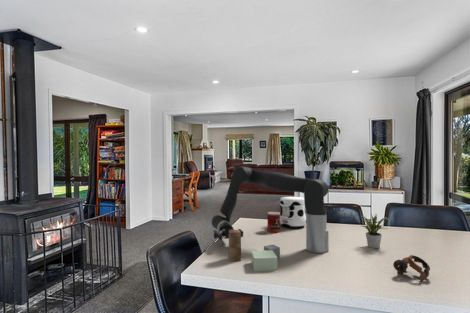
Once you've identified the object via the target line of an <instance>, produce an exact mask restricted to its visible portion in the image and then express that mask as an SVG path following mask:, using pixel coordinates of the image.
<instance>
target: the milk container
mask: <svg viewBox="0 0 470 313" xmlns="http://www.w3.org/2000/svg"><path fill="white" fill-rule="evenodd" d="M279 207H280V208H279V210H280V212H279V213H280V226H282V227H286V228H290V229H291V228H294V229H295V228H303V227H304V226H306V208H305V204H304V197H300V196H283V197H280V204H279Z"/></svg>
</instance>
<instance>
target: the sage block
mask: <svg viewBox="0 0 470 313" xmlns="http://www.w3.org/2000/svg"><path fill="white" fill-rule="evenodd" d="M250 253H251V255H250V256H251V265H252V268H253V270H254V272H256V271H257V272H259V271H260V272H261V271H262V272H263V271H265V272H266V271H278V260H277V256H276V255H275V253H274V252H273V250H266V251H264V250H251V251H250Z"/></svg>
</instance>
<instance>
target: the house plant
mask: <svg viewBox="0 0 470 313" xmlns="http://www.w3.org/2000/svg"><path fill="white" fill-rule="evenodd" d="M370 215H371V218H370V219H367V217H366V216H364V215H361V216H362V217H363V218H362V217H361V219H362V220H363V221H364V222H365V224H366V225H361V226H360V227H363V228H364V229H366V230H367V231H366V232H365V237H366V244H367V247H369V248H370V249H379V248H380V247H381V242H382V233H380V232H378V231H380V230H381V231H382V230H384V229H385V230H387V227H384V228H382V227H383V226H384V224H382V223H383V222H384V220H386V219H388V216H387V217H386V216H385V217H382V218H381V219H380V220H379V221H377V220H378V216H377V214H375V215H374V216H373V214H372V213H370Z"/></svg>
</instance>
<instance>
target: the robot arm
mask: <svg viewBox="0 0 470 313" xmlns="http://www.w3.org/2000/svg"><path fill="white" fill-rule="evenodd" d="M242 184H257V185H261V186H263V187H265V188H267V189H270V190H273V191H278V192H287V193H288V192H289V193H302V194H303V198H304V204H305V215H306V224H305V226H306V227H305V228H306V229H305V232H306V233H305V236H306V240H305V242H306V243H305V244H306V245H305V246H306V247H305V248H306V251H308V252H310V253H315V254H323V253H326V252H329V242H330V241H329V240H330V239H329V230H328V229H327V208H326V207H325V197H326V196H327V195H328V193H329V185H328V184H327V182H325V181H324V180H322V179H319V178H306V177H305V178H303V177H300V176H295V175H291V174H288V173H287V174H286V173H284V172H278V171H270V170H269V171H262V170H259V169H255V168H252V167H250V166H249V167H248V166H241V165H240V166H239V165H238V166H236V167H235V168H234V170H233V172H232V175H231V178H230V182H229V186H228V190H227V193H226V196H225V198H224V200H223V202H222V205H221V207H220V209H219V211H220V213H221V214H222V215H224V216H225V217H224V216H221V215H219V214H216V215H214V216H213V217H212V219H211V226H212V227H213V228H214V229H216V230H213V238H214V239H215V240H216V239H218V240H220V241H223V239H226V240H229V230H235V228H234V227H233V226H232V224H231V218H232V215H233V211H234V210H235V208H236V204H237V201H238V192H239V189H240V188H241V186H242ZM237 230H239V231H240V232H241V238H244V230H242V229H241V228H239V229H238V228H237Z"/></svg>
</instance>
